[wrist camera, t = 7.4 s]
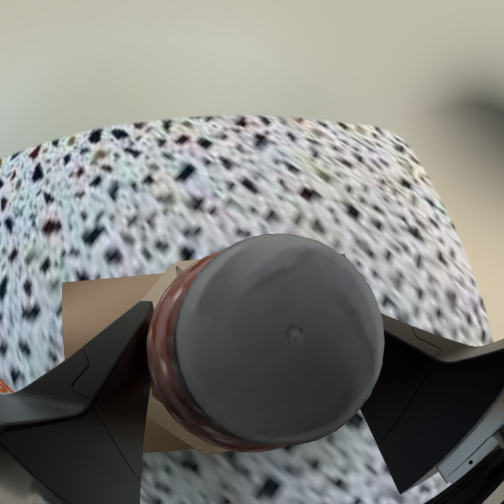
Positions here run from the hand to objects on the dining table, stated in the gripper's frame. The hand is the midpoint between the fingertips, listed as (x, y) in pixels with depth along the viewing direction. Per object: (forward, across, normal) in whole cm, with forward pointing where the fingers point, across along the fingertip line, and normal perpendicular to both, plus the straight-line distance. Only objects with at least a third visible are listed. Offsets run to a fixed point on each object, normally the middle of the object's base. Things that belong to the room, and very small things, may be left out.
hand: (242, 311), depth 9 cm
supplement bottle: (+4, 0, +6) cm, 7 cm away
